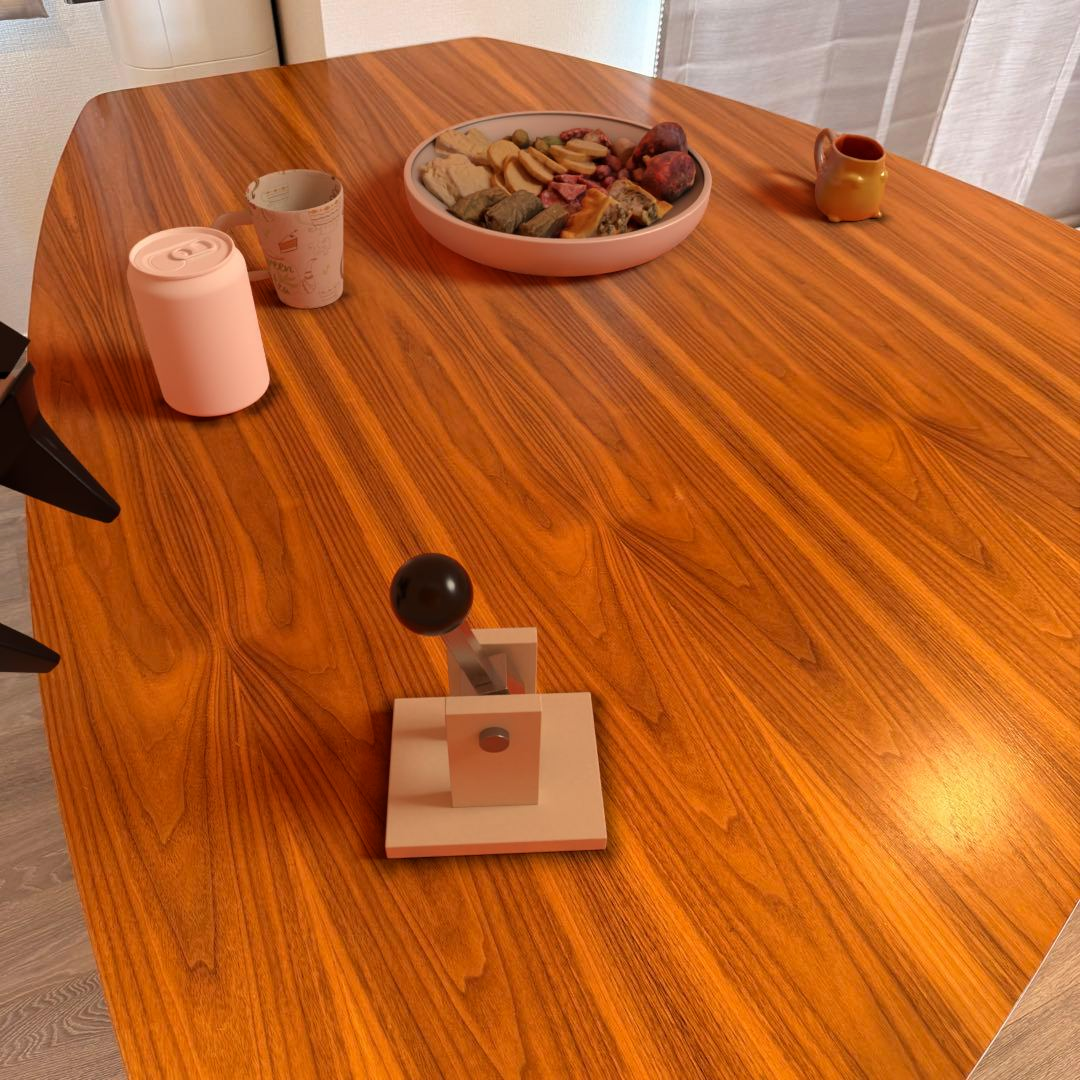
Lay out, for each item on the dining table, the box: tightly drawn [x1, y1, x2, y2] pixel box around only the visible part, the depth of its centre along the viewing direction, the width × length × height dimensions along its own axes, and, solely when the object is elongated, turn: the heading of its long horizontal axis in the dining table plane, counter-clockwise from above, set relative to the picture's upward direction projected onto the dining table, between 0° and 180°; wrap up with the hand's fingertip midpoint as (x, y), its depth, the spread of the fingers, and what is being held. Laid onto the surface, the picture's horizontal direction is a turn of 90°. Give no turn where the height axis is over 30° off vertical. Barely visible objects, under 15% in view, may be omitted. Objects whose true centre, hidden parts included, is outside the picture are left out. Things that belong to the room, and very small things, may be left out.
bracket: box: [384, 626, 608, 859], centre depth 49 cm, size 11×9×9 cm
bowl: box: [403, 109, 713, 278], centre depth 96 cm, size 30×30×8 cm
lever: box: [388, 552, 525, 696], centre depth 44 cm, size 11×4×4 cm
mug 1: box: [209, 168, 345, 310], centre depth 83 cm, size 8×12×10 cm, turn 105°
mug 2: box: [813, 127, 889, 223], centre depth 100 cm, size 12×7×7 cm, turn 10°
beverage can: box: [126, 226, 271, 417], centre depth 72 cm, size 8×8×12 cm
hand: (88, 585), depth 44 cm, fingers open, 9 cm apart
